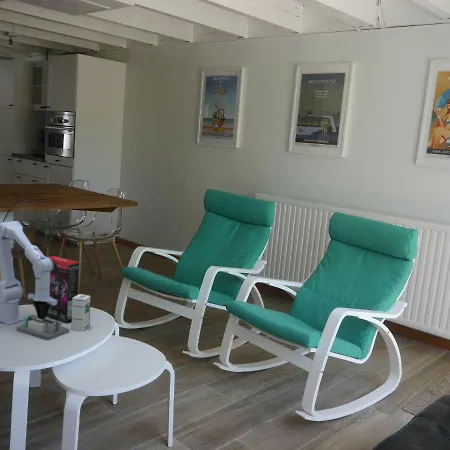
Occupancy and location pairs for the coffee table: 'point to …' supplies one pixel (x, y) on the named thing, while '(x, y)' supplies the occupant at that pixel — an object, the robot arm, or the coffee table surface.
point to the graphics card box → (63, 288)
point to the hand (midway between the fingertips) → (41, 318)
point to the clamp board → (44, 334)
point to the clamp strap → (42, 320)
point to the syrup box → (81, 312)
